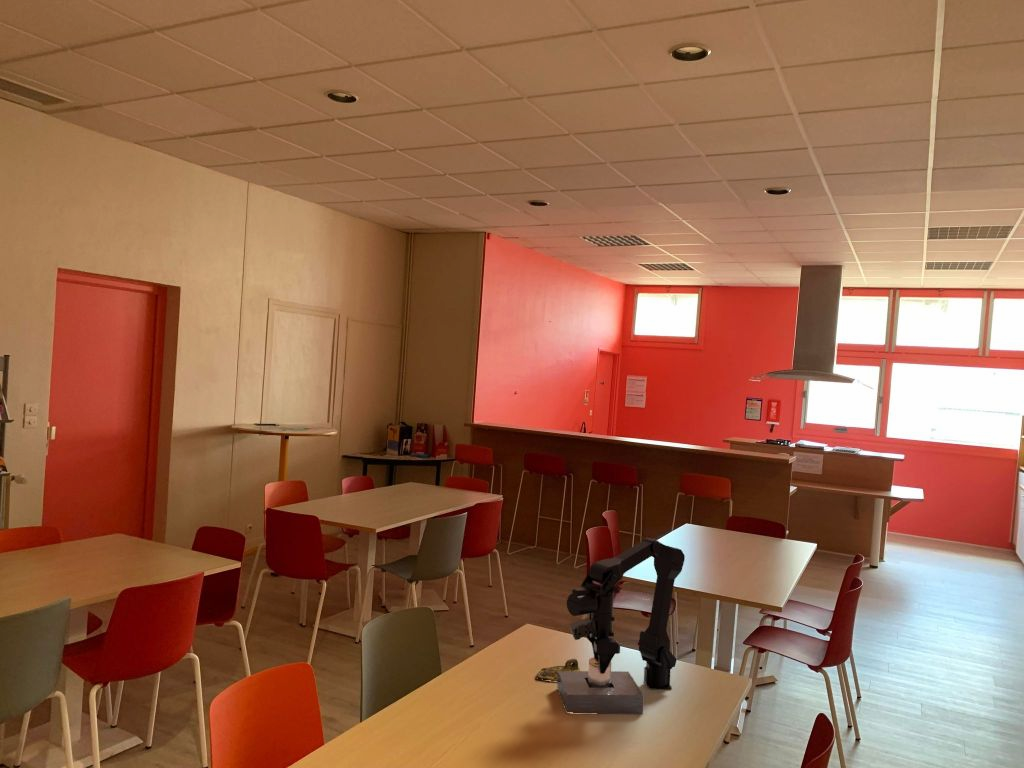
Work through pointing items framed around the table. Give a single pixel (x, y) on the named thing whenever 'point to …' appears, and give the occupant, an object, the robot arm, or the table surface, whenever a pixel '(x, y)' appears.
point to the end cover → (598, 675)
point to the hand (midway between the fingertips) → (599, 668)
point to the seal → (553, 671)
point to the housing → (600, 694)
